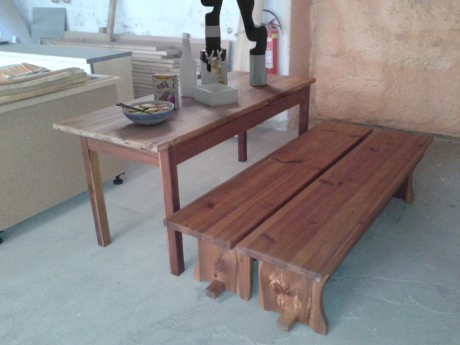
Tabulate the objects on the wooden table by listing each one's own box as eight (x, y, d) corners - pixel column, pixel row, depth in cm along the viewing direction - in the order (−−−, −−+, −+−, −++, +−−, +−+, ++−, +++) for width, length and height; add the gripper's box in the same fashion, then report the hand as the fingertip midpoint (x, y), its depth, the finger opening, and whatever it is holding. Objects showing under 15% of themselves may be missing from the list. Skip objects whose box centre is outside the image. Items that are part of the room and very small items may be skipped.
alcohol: (182, 93, 248) (178, 37, 237) (198, 93, 247) (195, 36, 236) (179, 97, 240) (175, 39, 228) (196, 97, 239) (192, 38, 228)
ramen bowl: (188, 122, 197) (186, 104, 194) (144, 135, 182) (142, 115, 179) (154, 112, 214) (152, 95, 210) (111, 123, 199) (108, 105, 196)
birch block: (216, 72, 229) (215, 58, 226) (221, 73, 225) (220, 59, 222) (207, 73, 227) (206, 59, 224) (212, 75, 223) (211, 60, 220)
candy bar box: (154, 109, 220) (151, 75, 213) (159, 106, 224) (156, 73, 218) (175, 110, 216) (173, 76, 210) (179, 108, 221) (177, 74, 214)
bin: (218, 95, 242) (217, 82, 240) (237, 102, 228) (237, 88, 225) (193, 99, 235) (192, 86, 232) (212, 107, 220) (211, 92, 218)
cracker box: (228, 90, 254) (227, 51, 245) (226, 92, 248) (225, 53, 240) (203, 90, 255) (201, 52, 247) (201, 92, 250) (199, 53, 241)
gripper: (221, 33, 225) (222, 68, 232) (196, 35, 218) (197, 71, 225) (229, 34, 219) (230, 70, 226) (203, 37, 212) (205, 73, 219)
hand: (214, 70), depth 225 cm, fingers closed on birch block, 5 cm apart
